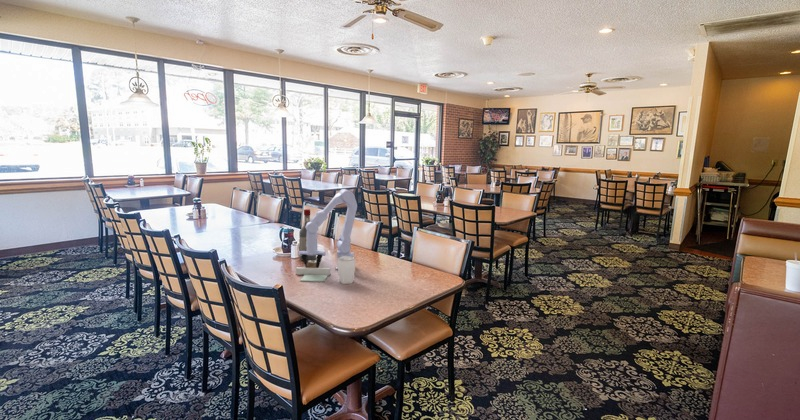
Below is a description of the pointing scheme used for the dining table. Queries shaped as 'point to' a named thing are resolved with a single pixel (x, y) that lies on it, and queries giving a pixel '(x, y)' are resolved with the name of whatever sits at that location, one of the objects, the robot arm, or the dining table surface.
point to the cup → (346, 269)
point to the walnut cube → (312, 264)
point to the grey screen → (313, 271)
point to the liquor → (303, 236)
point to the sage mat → (314, 278)
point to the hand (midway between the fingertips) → (312, 268)
